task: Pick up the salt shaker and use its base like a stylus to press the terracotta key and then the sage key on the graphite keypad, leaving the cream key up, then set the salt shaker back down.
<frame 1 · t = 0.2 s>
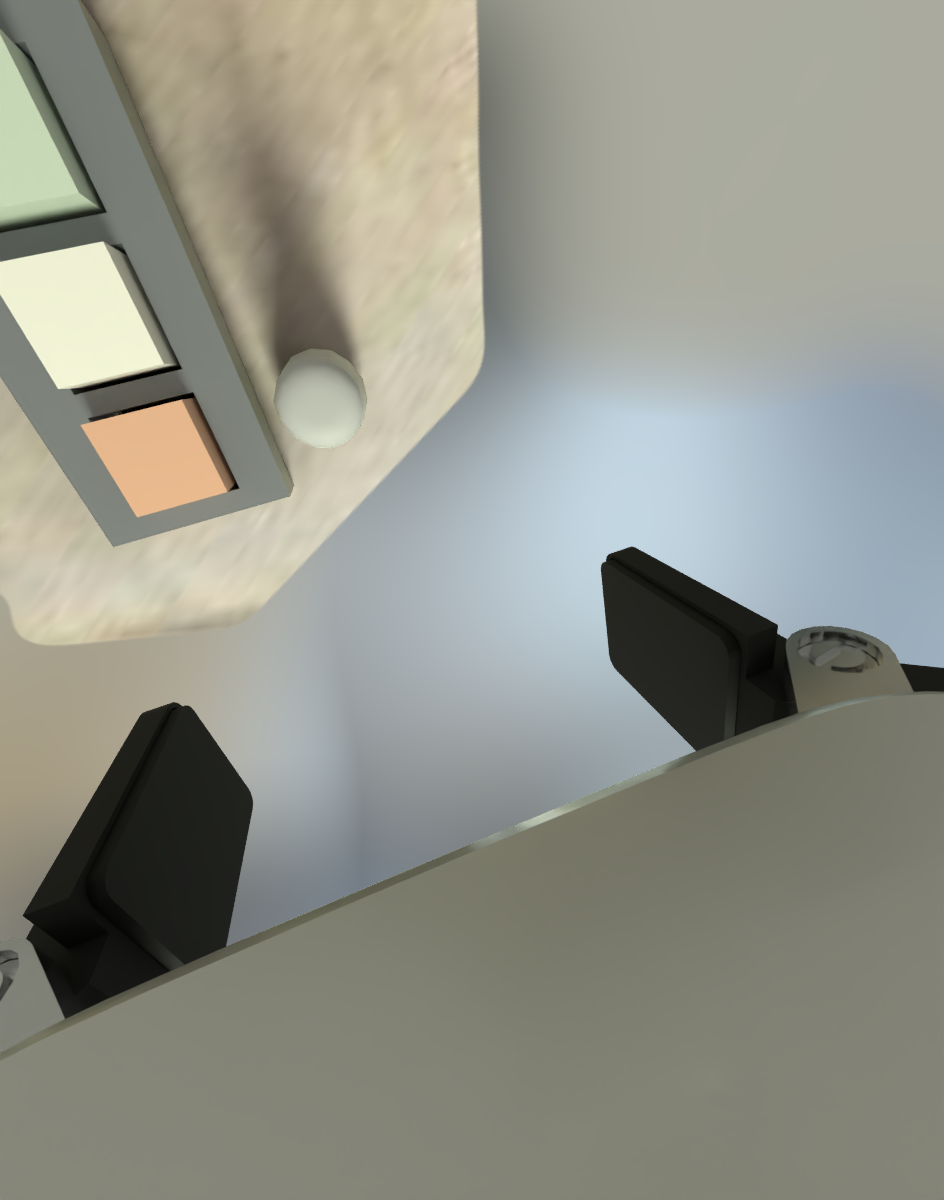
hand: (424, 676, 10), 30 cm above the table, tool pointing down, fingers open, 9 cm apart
keypad: (122, 328, 29), on the table
salt shaker: (324, 395, 33), on the table
key terracotta: (167, 456, 29), point 4 cm above the table, slide at 0.0 cm
key cream: (95, 321, 25), point 4 cm above the table, slide at 0.0 cm
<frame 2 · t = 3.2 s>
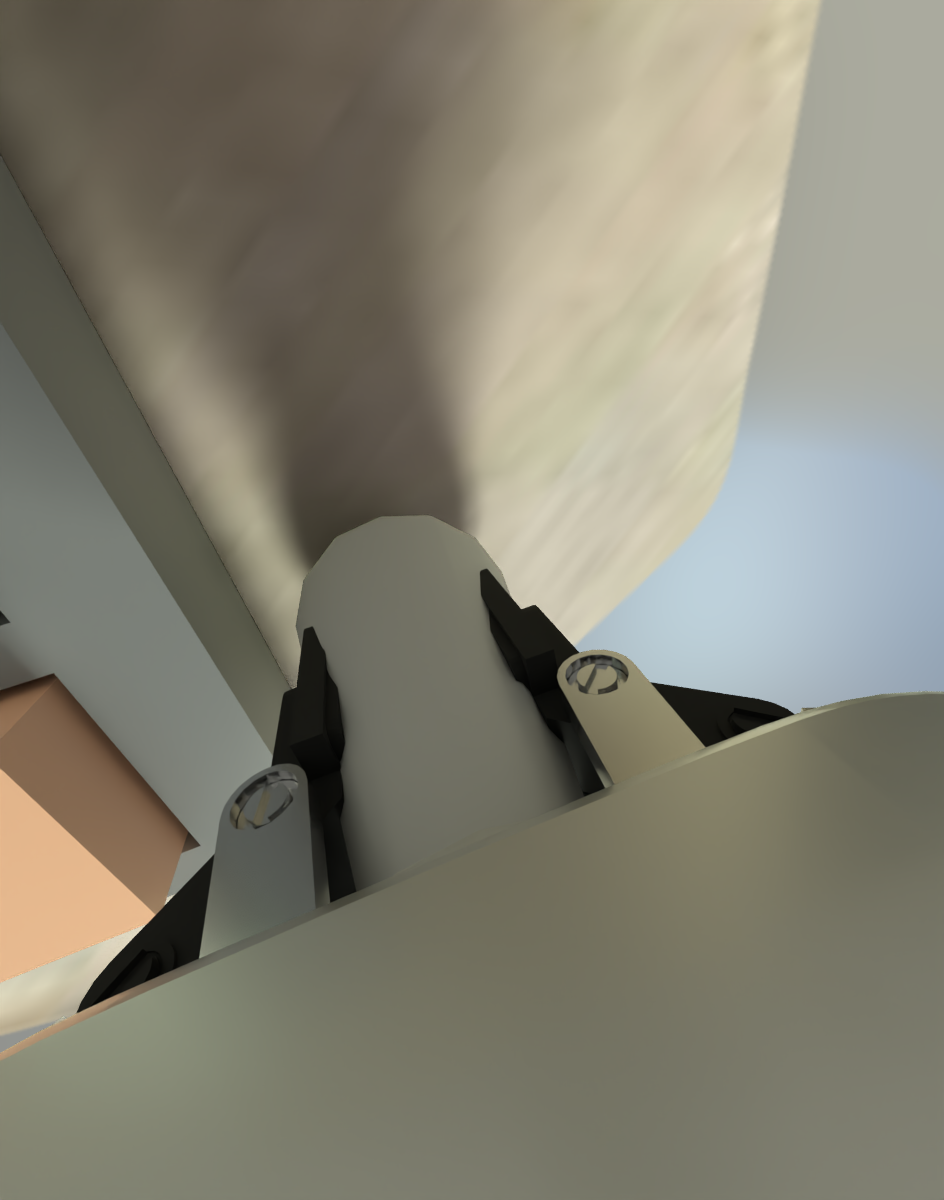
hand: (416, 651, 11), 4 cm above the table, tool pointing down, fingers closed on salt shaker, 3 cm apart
salt shaker: (396, 582, 15), on the table, touching gripper
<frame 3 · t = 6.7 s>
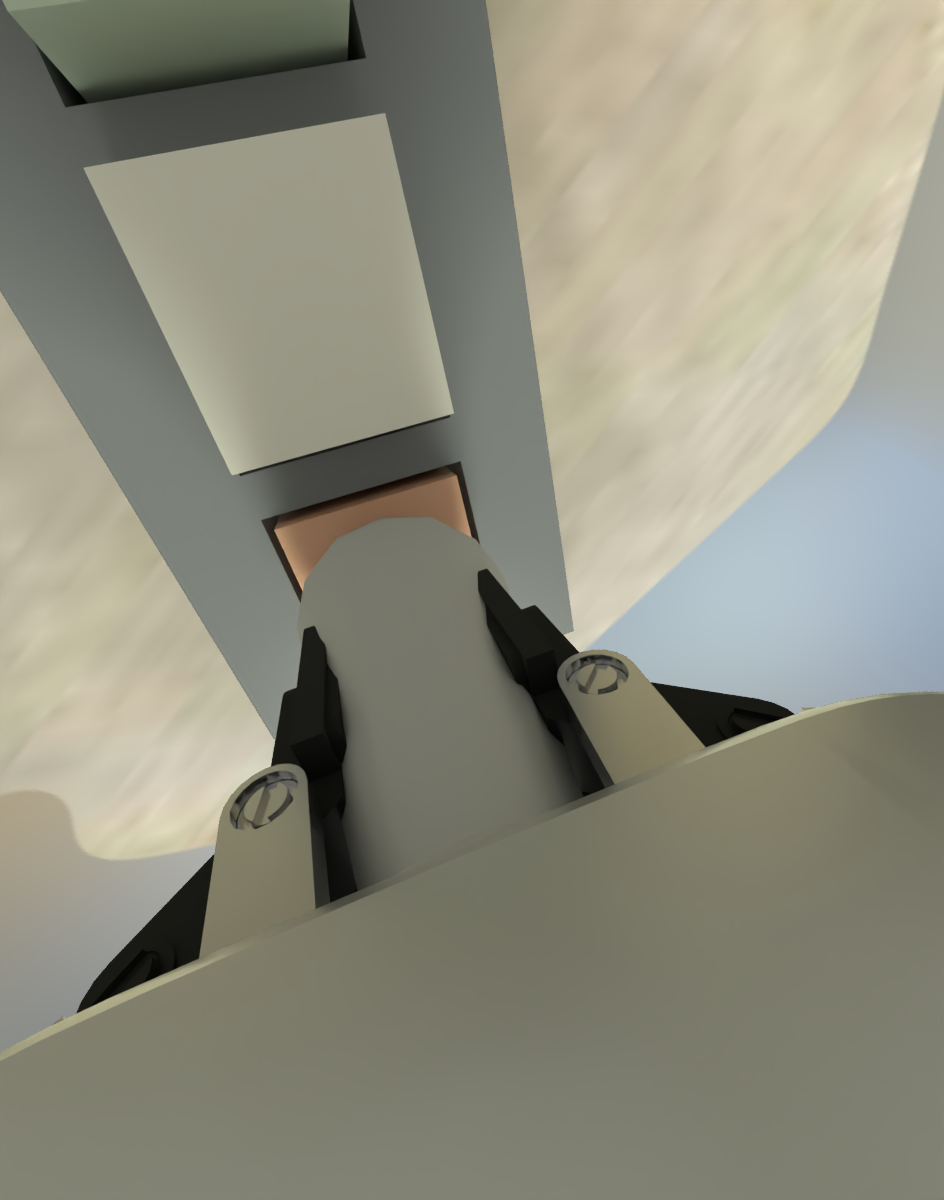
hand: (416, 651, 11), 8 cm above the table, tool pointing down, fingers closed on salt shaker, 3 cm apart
keypad: (312, 335, 15), on the table
salt shaker: (396, 583, 15), point 4 cm above the table, touching gripper, key terracotta
key terracotta: (390, 564, 16), point 2 cm above the table, slide at 1.6 cm, touching salt shaker
key cream: (305, 321, 11), point 4 cm above the table, slide at 0.0 cm
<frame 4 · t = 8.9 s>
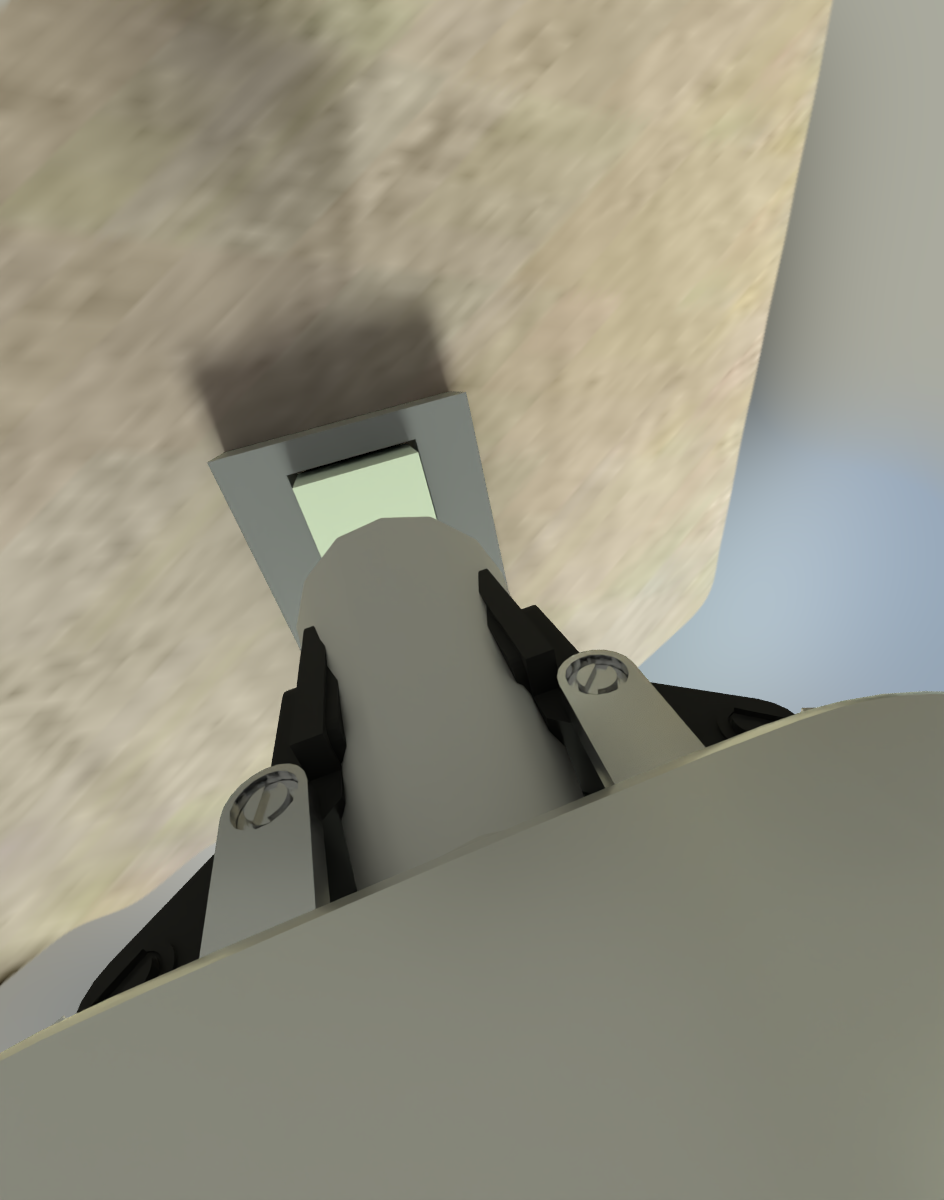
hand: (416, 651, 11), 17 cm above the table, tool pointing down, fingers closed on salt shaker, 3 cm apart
key sage: (374, 520, 22), point 4 cm above the table, slide at 0.0 cm
keypad: (407, 613, 29), on the table
salt shaker: (396, 583, 15), point 12 cm above the table, touching gripper
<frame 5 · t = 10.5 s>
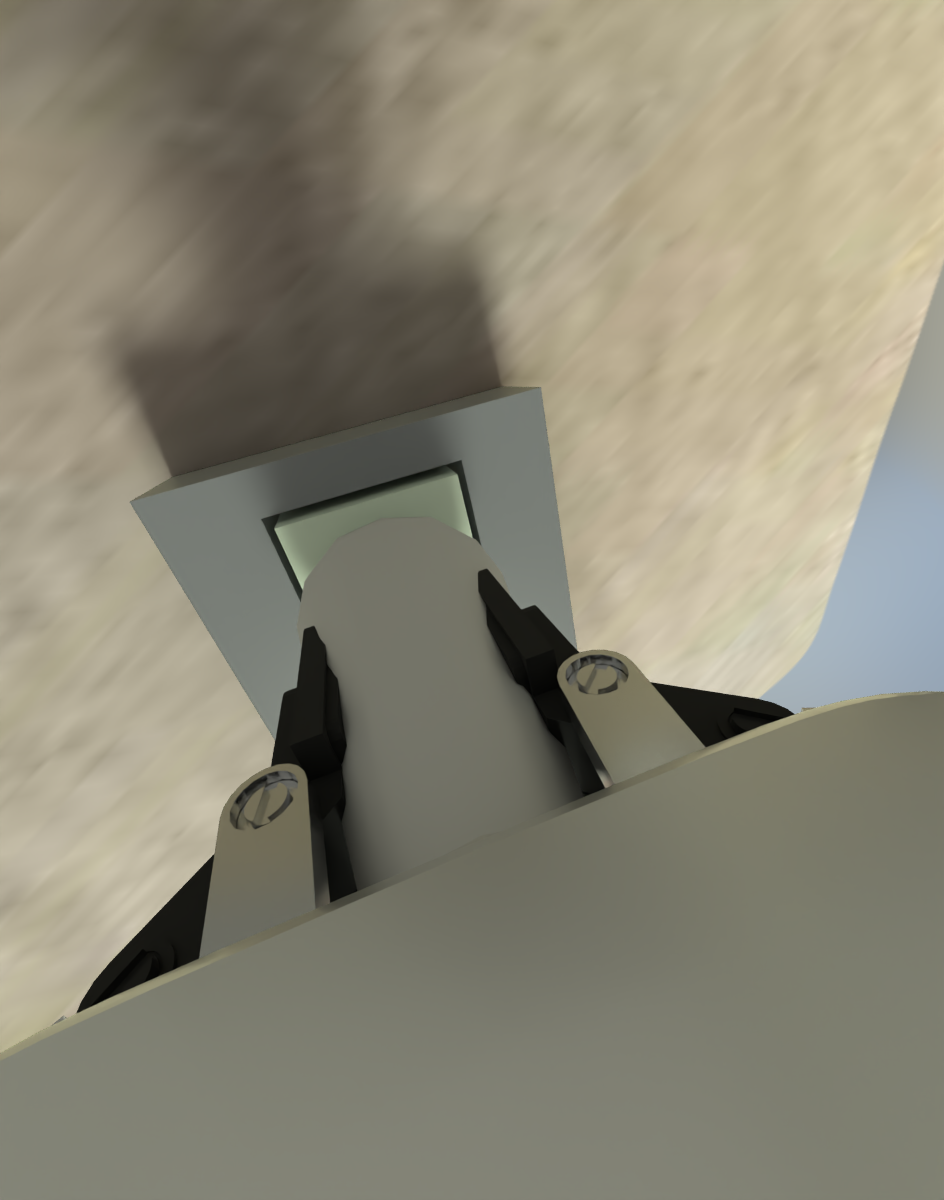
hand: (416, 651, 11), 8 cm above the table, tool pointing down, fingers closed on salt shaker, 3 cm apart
key sage: (390, 563, 16), point 2 cm above the table, slide at 1.6 cm, touching salt shaker
keypad: (433, 686, 22), on the table
salt shaker: (396, 583, 15), point 4 cm above the table, touching gripper, key sage
when the fingers open (6 cm above the table, at t = 14.9 s): salt shaker drops 1 cm, on the table.
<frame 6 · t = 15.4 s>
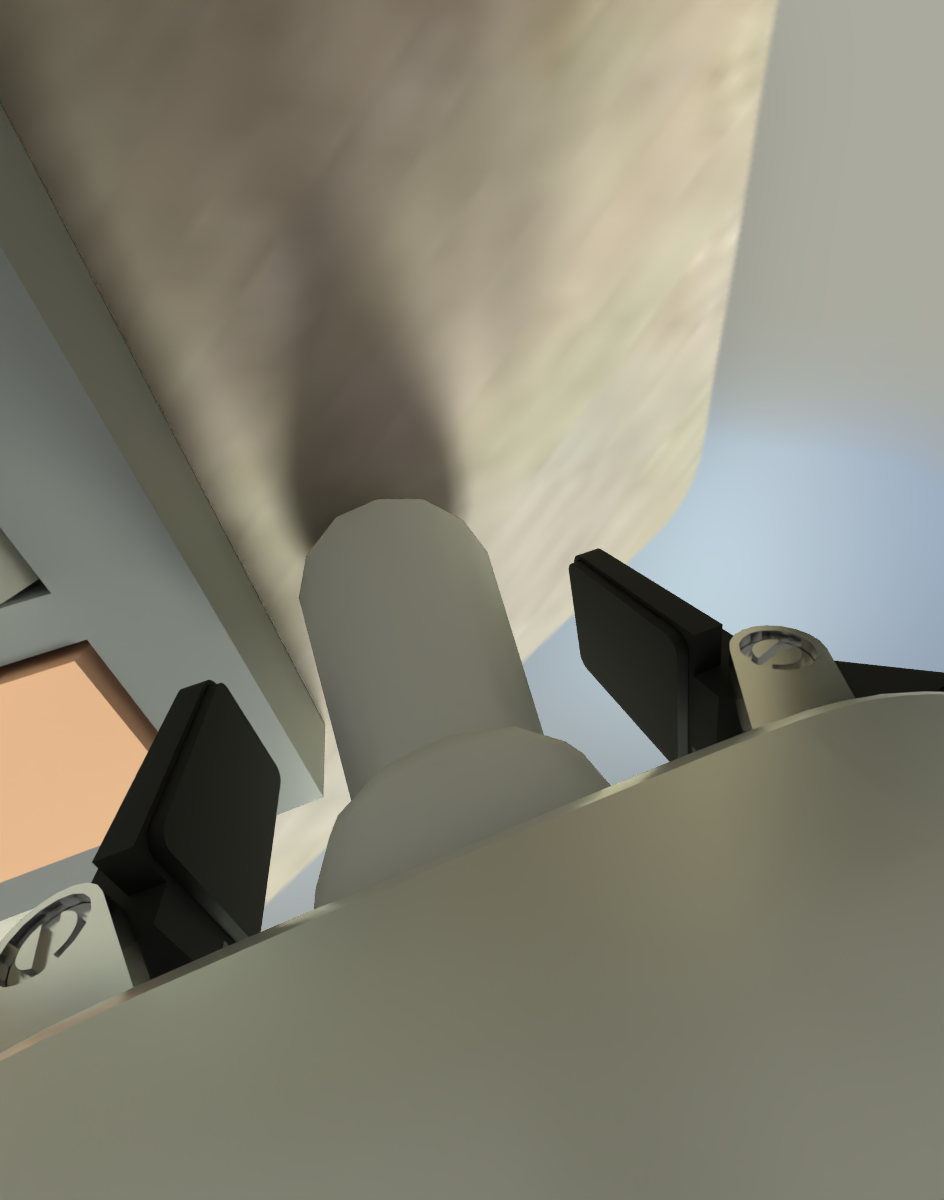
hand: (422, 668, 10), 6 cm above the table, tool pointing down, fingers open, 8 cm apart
salt shaker: (391, 562, 16), on the table
key terracotta: (65, 735, 13), point 2 cm above the table, slide at 1.7 cm
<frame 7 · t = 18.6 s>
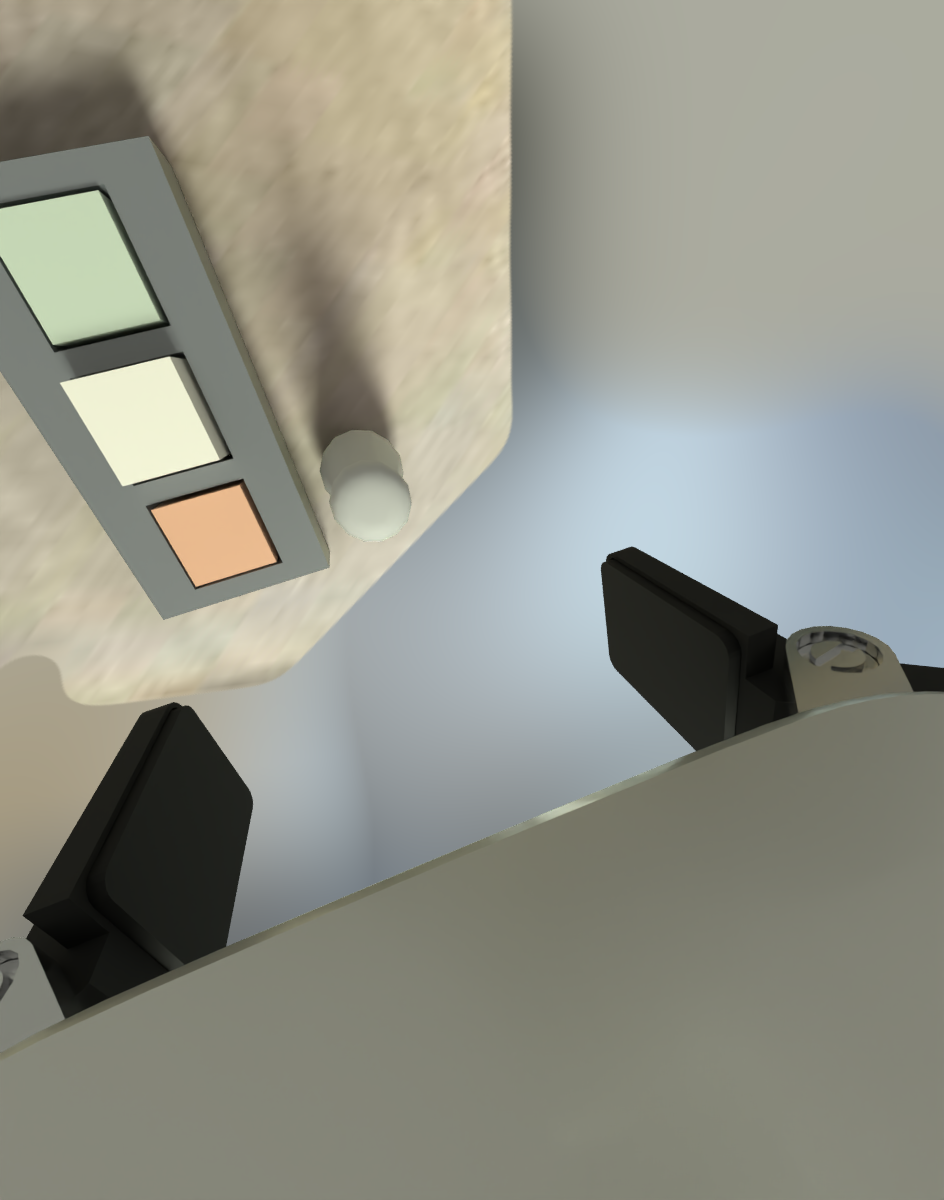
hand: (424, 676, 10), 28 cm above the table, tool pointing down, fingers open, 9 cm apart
key sage: (91, 277, 25), point 2 cm above the table, slide at 1.6 cm
keypad: (175, 417, 30), on the table
salt shaker: (360, 466, 35), on the table
key terracotta: (222, 530, 32), point 2 cm above the table, slide at 1.7 cm
key cream: (156, 421, 27), point 4 cm above the table, slide at 0.0 cm
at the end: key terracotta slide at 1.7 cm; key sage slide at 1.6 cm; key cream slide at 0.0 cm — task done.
